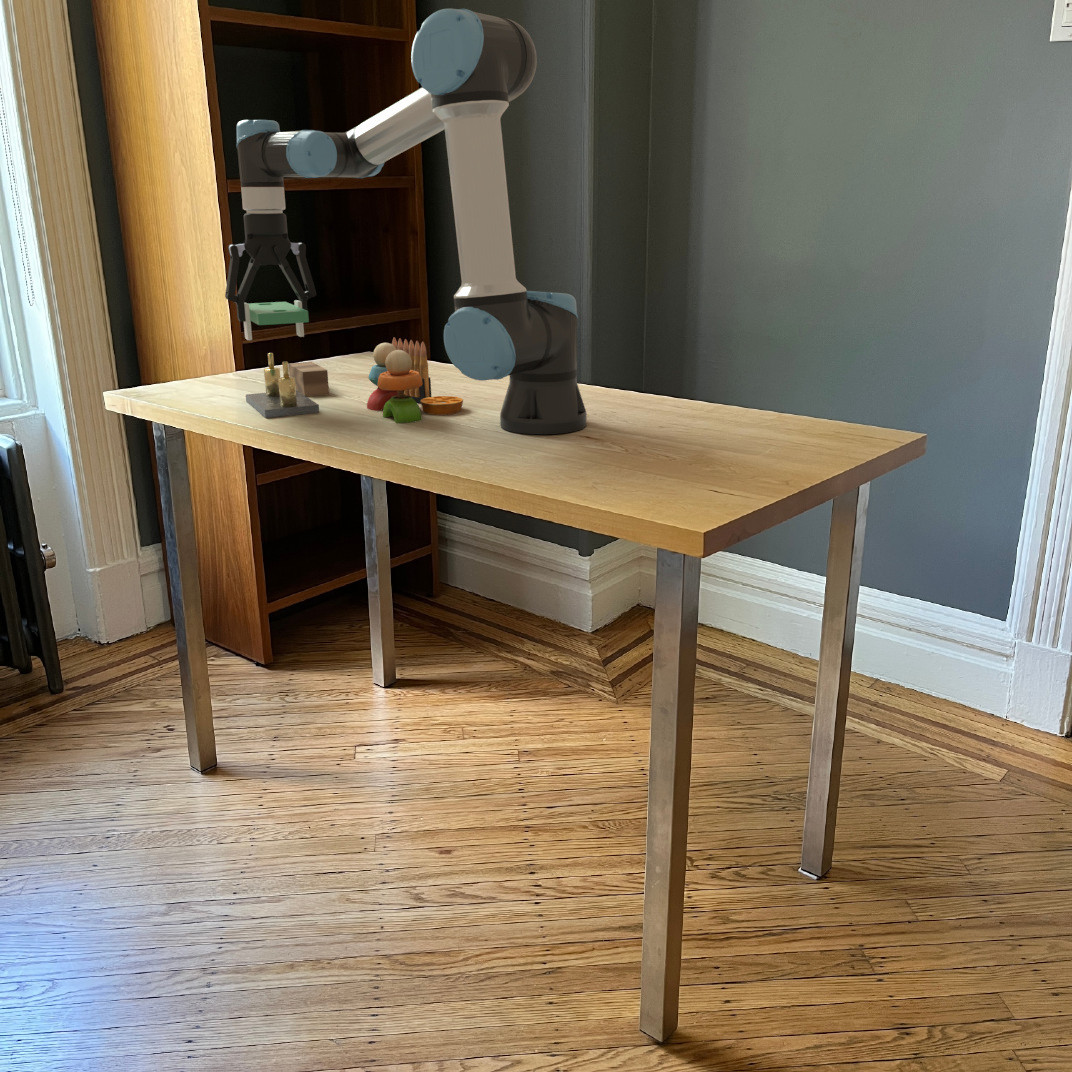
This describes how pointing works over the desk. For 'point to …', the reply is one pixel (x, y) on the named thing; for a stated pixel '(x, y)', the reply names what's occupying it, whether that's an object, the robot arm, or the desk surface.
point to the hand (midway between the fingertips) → (274, 337)
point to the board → (277, 313)
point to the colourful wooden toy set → (402, 388)
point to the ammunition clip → (417, 368)
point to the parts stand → (309, 378)
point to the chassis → (280, 395)
